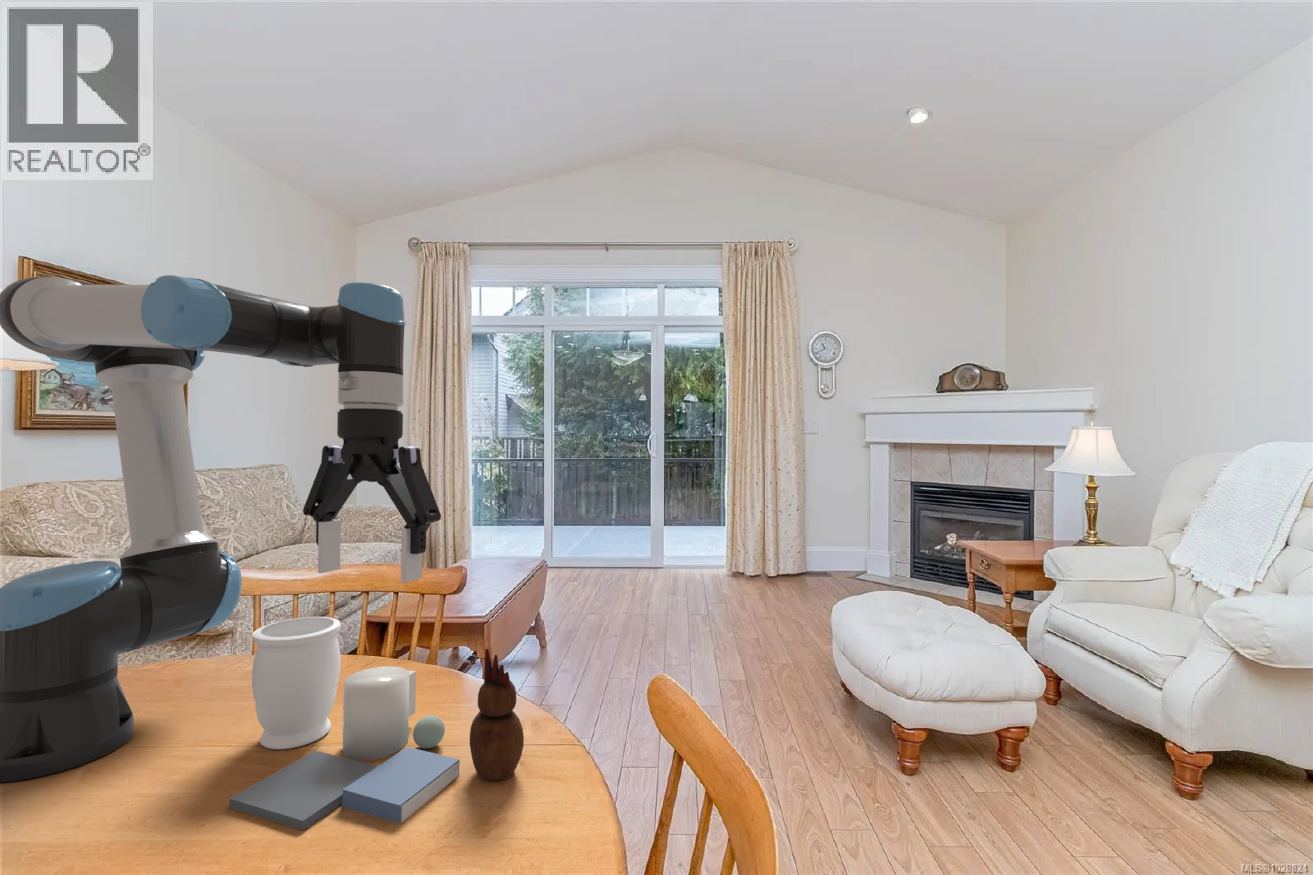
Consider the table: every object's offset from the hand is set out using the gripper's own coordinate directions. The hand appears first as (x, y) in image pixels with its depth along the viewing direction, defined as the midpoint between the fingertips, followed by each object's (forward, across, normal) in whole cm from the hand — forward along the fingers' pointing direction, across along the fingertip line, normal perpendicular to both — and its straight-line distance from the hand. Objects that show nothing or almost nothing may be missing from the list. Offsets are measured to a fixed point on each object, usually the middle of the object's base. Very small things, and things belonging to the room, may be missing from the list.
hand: (369, 575), depth 76 cm
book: (+24, +8, -3) cm, 26 cm away
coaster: (+24, -2, -7) cm, 25 cm away
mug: (+24, -3, +5) cm, 25 cm away
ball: (+24, +4, +6) cm, 25 cm away
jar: (+24, -15, +2) cm, 28 cm away
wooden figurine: (+24, +16, +4) cm, 29 cm away
